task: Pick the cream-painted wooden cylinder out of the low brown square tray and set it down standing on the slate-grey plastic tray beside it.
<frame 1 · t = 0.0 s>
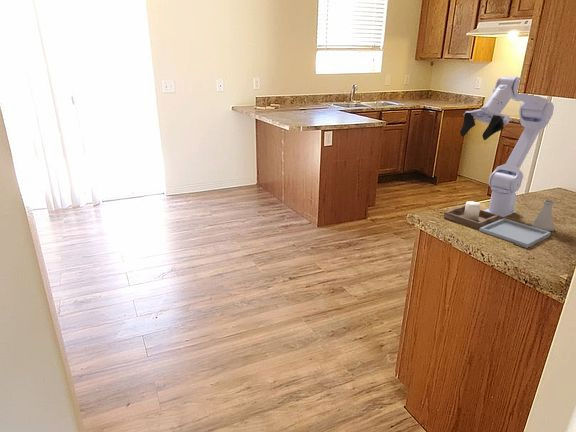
hand: (472, 136, 133), 32 cm above the counter, tool tilted 50°, fingers open, 7 cm apart
brown square tray: (470, 219, 153), on the counter
cream cylinder: (470, 218, 152), resting on brown square tray
flask: (542, 228, 146), on the counter
slate tray: (514, 234, 141), on the counter
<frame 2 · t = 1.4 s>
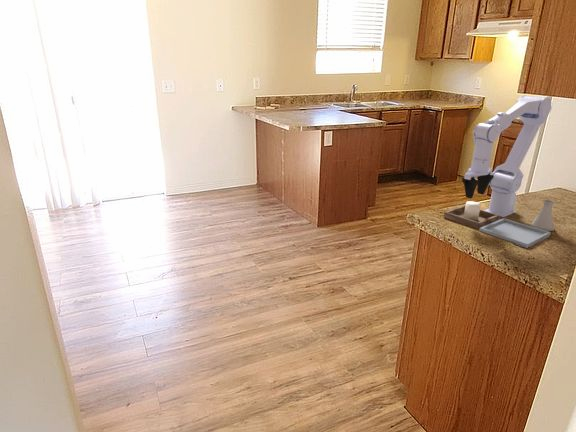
hand: (474, 195, 149), 9 cm above the counter, tool pointing down, fingers open, 7 cm apart
nothing on the counter moved.
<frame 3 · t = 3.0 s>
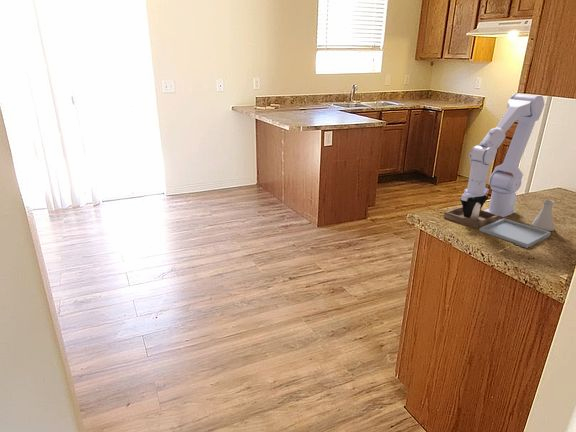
hand: (471, 215, 152), 2 cm above the counter, tool pointing down, fingers closed on cream cylinder, 5 cm apart
cream cylinder: (470, 218, 152), resting on brown square tray, touching gripper
everything else where it was.
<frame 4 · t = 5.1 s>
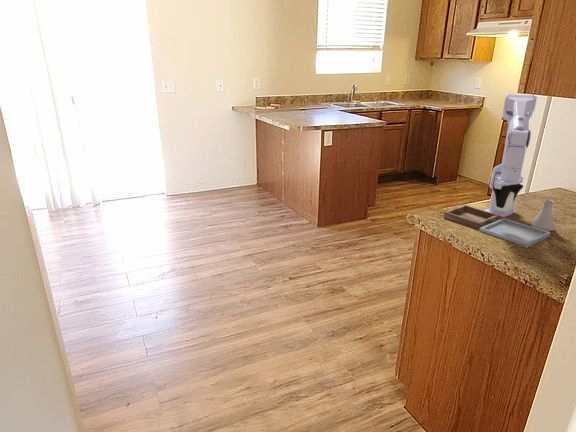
hand: (504, 205, 141), 9 cm above the counter, tool pointing down, fingers closed on cream cylinder, 5 cm apart
cream cylinder: (503, 209, 142), point 7 cm above the counter, touching gripper
everything else where it was.
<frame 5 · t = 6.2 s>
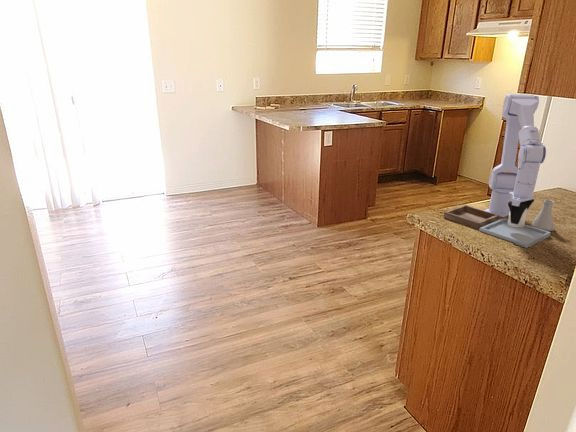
hand: (516, 221, 139), 5 cm above the counter, tool pointing down, fingers closed on cream cylinder, 5 cm apart
cream cylinder: (515, 224, 139), point 3 cm above the counter, touching gripper
everything else where it was.
when the fingers open (4 cm above the counter, at t = 7.2 s): cream cylinder drops 2 cm, resting on slate tray.
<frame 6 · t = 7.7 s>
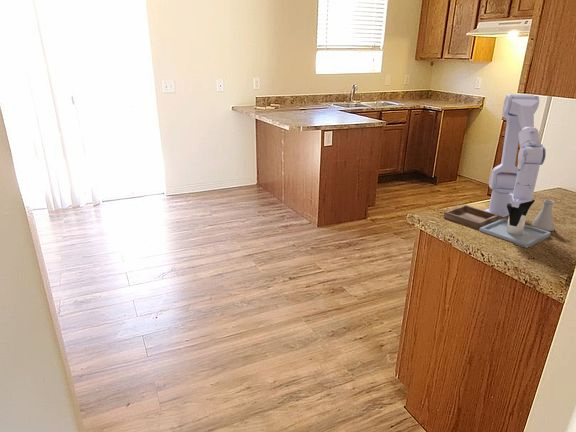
hand: (516, 222, 139), 4 cm above the counter, tool pointing down, fingers open, 7 cm apart
cream cylinder: (514, 232, 140), point 1 cm above the counter, touching slate tray
everything else where it was.
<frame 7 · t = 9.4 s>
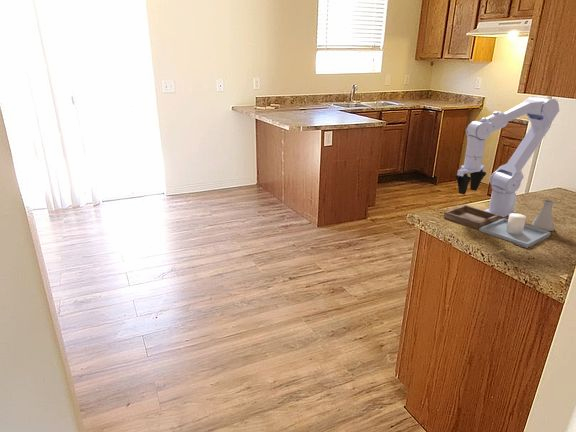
hand: (467, 191, 153), 9 cm above the counter, tool pointing down, fingers open, 7 cm apart
nothing on the counter moved.
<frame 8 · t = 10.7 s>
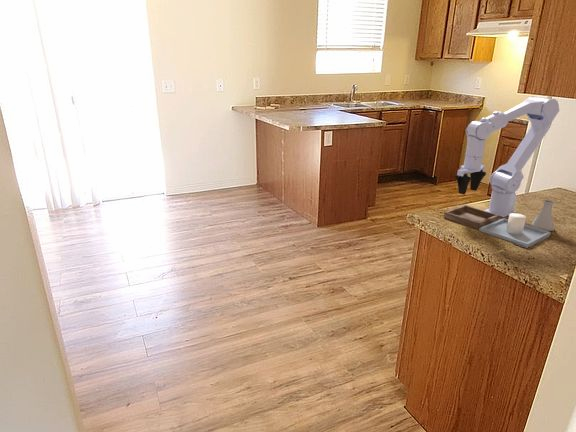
hand: (467, 191, 153), 9 cm above the counter, tool pointing down, fingers open, 7 cm apart
nothing on the counter moved.
at the end: cream cylinder inside the target area on the slate tray (0.1 cm from its centre), point 0.6 cm above the slate tray's base; cream cylinder tilted 0°; the gripper is holding nothing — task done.
